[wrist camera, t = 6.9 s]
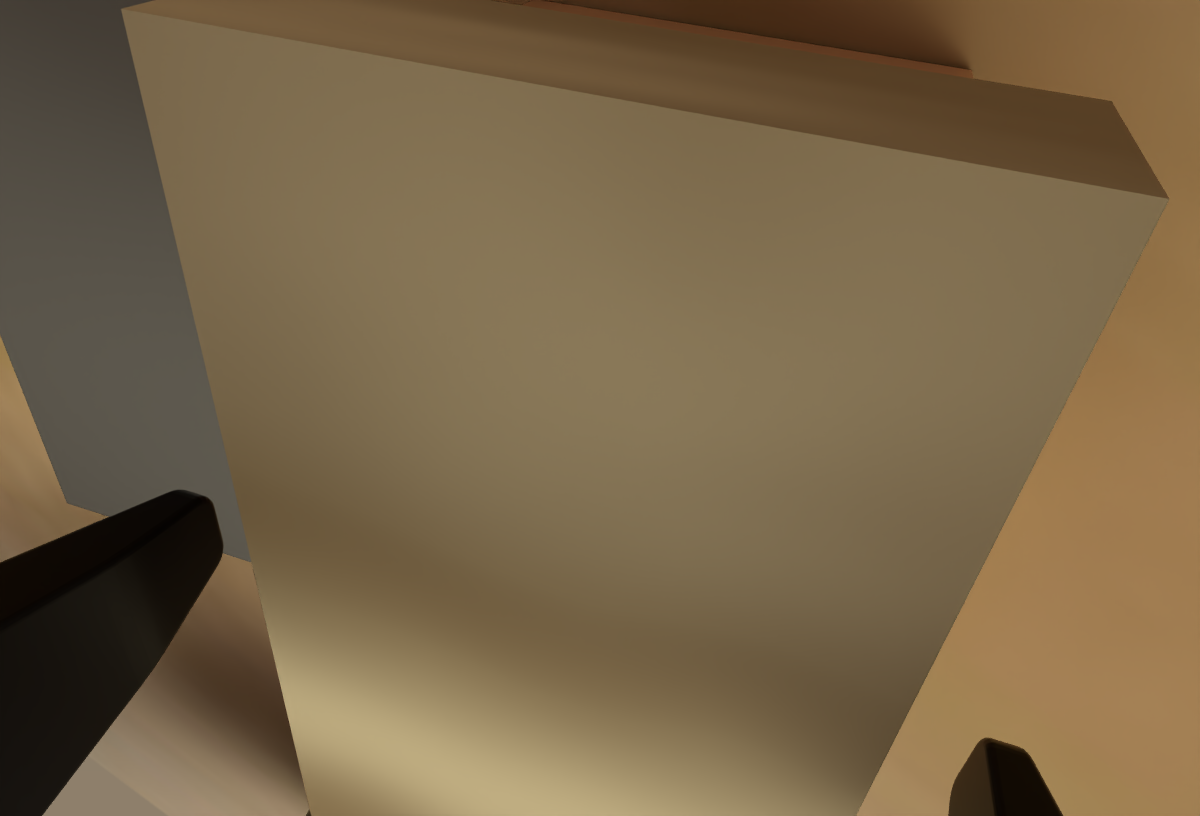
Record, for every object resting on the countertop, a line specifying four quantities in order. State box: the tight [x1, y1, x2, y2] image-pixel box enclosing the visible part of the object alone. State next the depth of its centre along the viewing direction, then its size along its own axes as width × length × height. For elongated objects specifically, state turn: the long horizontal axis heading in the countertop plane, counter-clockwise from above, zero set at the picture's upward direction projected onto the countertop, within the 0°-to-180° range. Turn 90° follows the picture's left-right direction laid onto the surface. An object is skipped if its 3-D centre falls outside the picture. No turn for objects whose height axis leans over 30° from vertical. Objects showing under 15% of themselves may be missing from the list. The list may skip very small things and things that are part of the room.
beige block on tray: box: [121, 0, 1169, 816], centre depth 10 cm, size 12×7×2 cm, turn 176°
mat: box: [0, 0, 251, 562], centre depth 18 cm, size 14×9×1 cm, turn 176°
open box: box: [523, 0, 973, 79], centre depth 13 cm, size 10×6×5 cm, turn 176°
